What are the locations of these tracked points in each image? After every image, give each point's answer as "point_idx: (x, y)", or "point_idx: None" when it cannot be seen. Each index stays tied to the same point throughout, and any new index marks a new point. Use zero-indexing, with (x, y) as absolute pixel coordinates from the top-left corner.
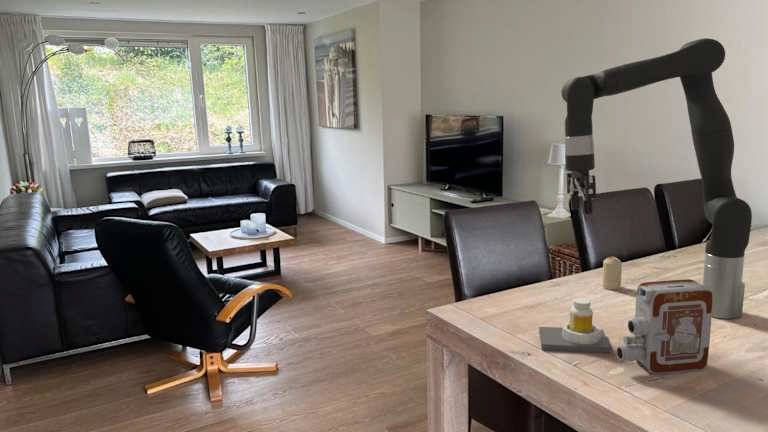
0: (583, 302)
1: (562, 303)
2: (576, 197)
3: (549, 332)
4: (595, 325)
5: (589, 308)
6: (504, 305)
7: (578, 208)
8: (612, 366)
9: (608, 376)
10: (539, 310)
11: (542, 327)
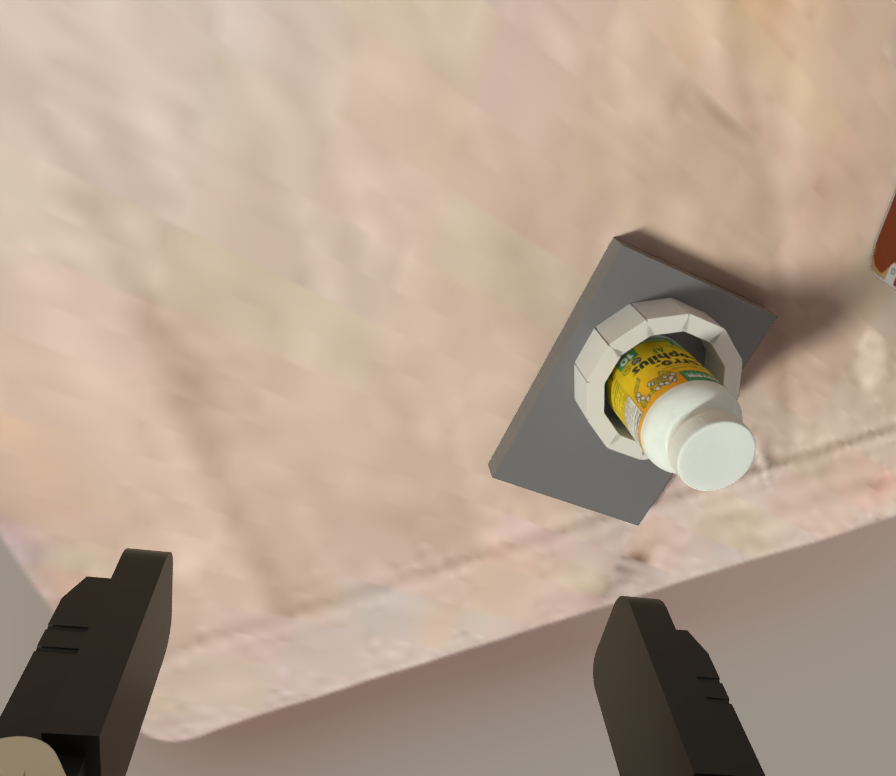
0: (738, 460)
1: (173, 207)
2: (105, 767)
3: (560, 464)
4: (673, 325)
5: (717, 404)
6: (145, 489)
7: (166, 572)
8: (842, 356)
9: (883, 403)
10: (251, 366)
11: (505, 469)
